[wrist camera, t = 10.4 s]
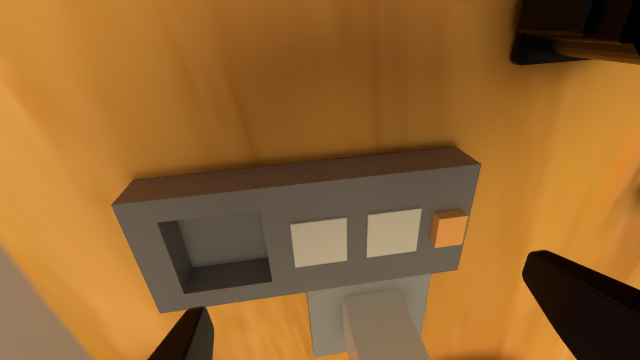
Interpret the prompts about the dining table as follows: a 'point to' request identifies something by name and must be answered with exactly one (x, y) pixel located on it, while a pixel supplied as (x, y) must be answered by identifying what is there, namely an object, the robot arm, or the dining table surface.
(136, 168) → the dining table surface
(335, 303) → the mat
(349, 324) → the block
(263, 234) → the power strip
